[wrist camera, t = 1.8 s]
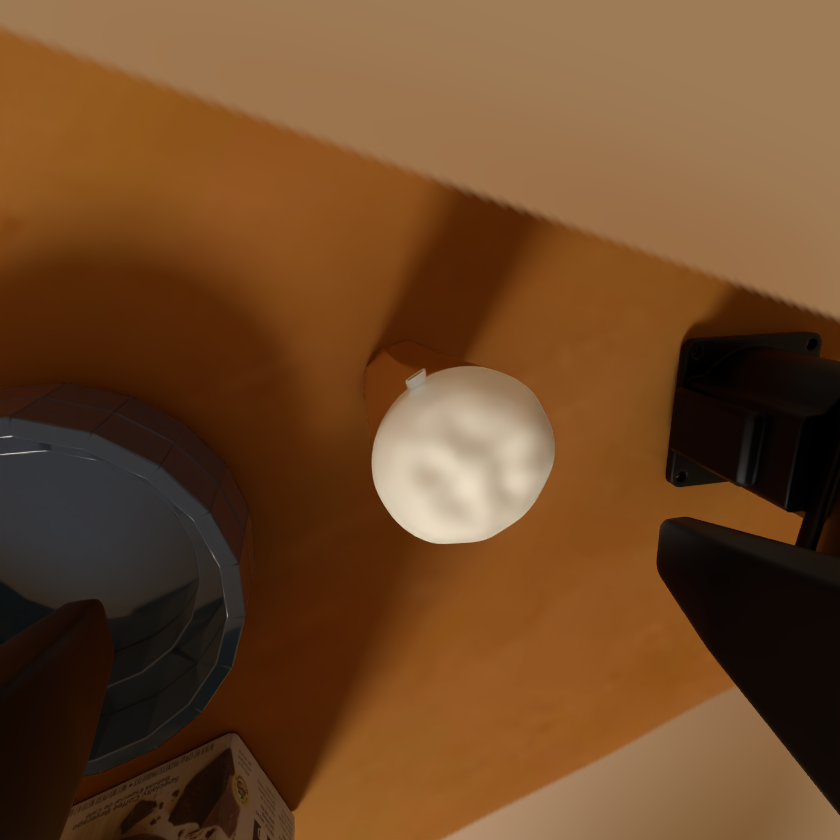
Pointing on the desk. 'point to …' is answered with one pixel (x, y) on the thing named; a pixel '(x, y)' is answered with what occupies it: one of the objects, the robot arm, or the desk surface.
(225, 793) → the coffee box
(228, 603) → the bowl
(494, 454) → the milkshake
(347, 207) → the desk surface
